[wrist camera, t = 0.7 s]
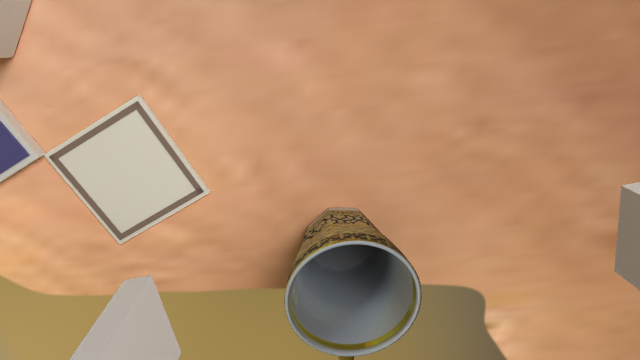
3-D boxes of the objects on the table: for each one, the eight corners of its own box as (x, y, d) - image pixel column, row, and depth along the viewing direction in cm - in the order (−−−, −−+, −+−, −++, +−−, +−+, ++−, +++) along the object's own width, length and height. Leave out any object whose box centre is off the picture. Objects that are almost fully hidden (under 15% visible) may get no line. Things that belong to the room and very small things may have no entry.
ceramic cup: (289, 187, 37) (285, 238, 28) (398, 190, 38) (430, 242, 28) (286, 307, 41) (282, 387, 32) (384, 308, 42) (408, 388, 32)
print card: (46, 153, 35) (42, 155, 35) (140, 94, 34) (137, 95, 33) (121, 242, 38) (119, 245, 38) (210, 191, 37) (209, 193, 36)
